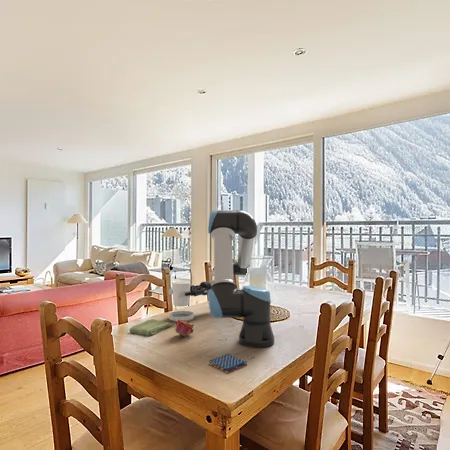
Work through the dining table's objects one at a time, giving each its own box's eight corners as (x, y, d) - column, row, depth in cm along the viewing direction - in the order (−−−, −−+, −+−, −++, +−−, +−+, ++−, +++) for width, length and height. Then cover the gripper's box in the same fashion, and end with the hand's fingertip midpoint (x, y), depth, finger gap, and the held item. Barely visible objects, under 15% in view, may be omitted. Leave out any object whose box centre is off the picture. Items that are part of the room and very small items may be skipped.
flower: (185, 338, 140) (192, 321, 144) (166, 332, 143) (174, 314, 147) (191, 344, 148) (198, 327, 152) (173, 338, 151) (180, 321, 155)
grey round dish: (187, 323, 167) (187, 318, 167) (164, 321, 171) (164, 316, 171) (197, 316, 180) (197, 311, 180) (175, 314, 184) (175, 309, 184)
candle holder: (187, 307, 170) (187, 284, 170) (169, 306, 172) (169, 283, 172) (193, 302, 180) (193, 280, 180) (175, 301, 182) (175, 279, 181)
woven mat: (228, 357, 126) (228, 352, 126) (248, 366, 118) (248, 360, 118) (206, 365, 119) (207, 359, 119) (227, 375, 111) (227, 369, 111)
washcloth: (172, 326, 163) (172, 320, 163) (150, 338, 147) (150, 330, 147) (151, 323, 169) (151, 317, 169) (127, 333, 153) (127, 326, 153)
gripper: (220, 297, 179) (185, 304, 165) (196, 291, 196) (163, 296, 181) (220, 284, 179) (185, 289, 165) (197, 278, 196) (163, 283, 181)
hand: (174, 293), depth 173 cm, fingers closed on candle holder, 9 cm apart
